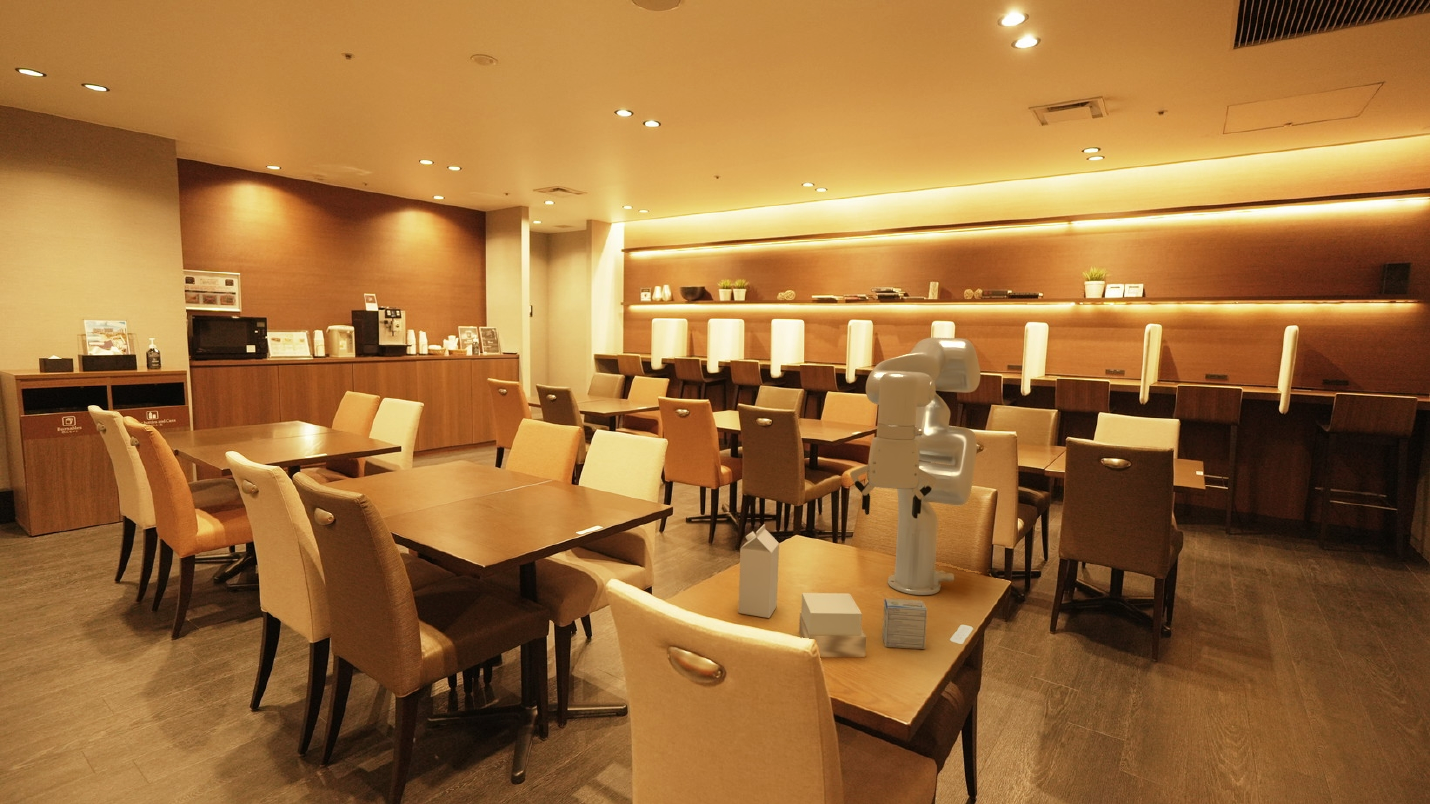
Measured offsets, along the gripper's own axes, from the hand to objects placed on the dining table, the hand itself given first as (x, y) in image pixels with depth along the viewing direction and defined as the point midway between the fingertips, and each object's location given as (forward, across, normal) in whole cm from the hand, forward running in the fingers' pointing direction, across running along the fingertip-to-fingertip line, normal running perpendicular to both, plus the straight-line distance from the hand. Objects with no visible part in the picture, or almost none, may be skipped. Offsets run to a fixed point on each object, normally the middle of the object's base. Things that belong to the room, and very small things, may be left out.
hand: (890, 515), depth 138 cm
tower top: (+22, +11, +7) cm, 25 cm away
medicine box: (+26, -4, +4) cm, 26 cm away
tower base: (+26, +11, +7) cm, 29 cm away
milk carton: (+26, +27, -6) cm, 38 cm away
